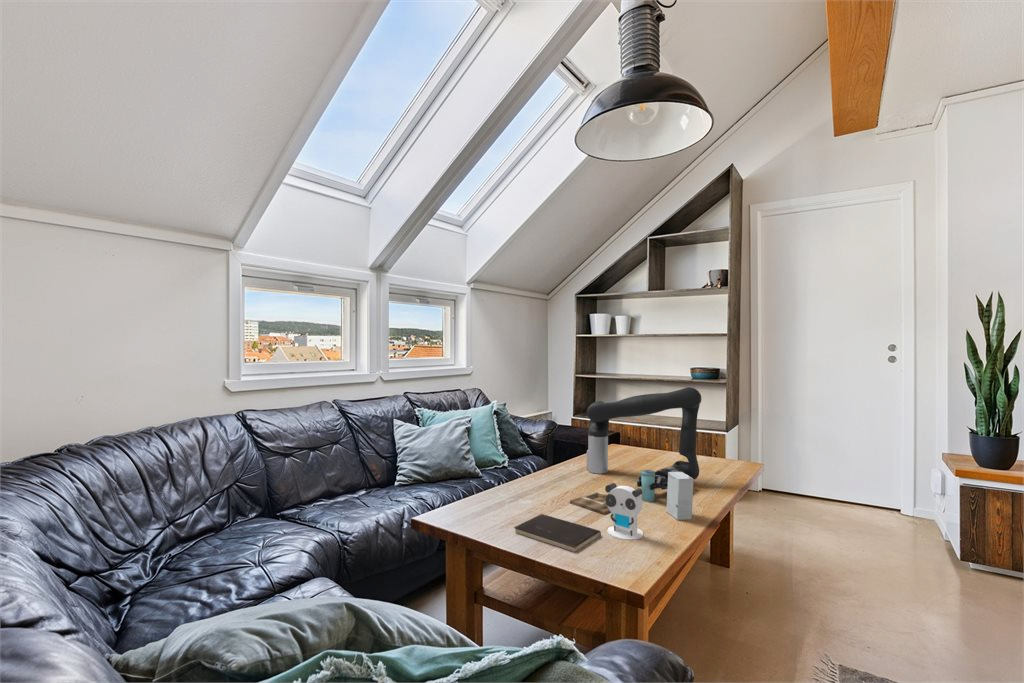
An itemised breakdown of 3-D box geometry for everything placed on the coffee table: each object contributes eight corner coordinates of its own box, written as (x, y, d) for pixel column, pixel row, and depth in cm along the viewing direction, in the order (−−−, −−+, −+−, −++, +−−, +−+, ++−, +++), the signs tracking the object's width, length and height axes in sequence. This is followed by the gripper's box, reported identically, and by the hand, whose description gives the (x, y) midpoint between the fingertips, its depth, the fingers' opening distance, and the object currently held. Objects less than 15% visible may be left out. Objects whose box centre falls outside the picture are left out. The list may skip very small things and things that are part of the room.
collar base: (569, 503, 183) (569, 497, 183) (595, 494, 193) (595, 488, 193) (603, 514, 171) (603, 507, 171) (629, 504, 182) (629, 497, 182)
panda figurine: (599, 532, 155) (599, 486, 155) (616, 522, 163) (616, 479, 163) (632, 543, 147) (633, 494, 147) (649, 532, 155) (649, 486, 155)
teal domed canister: (638, 499, 187) (638, 471, 187) (645, 496, 191) (645, 469, 191) (650, 502, 183) (650, 474, 183) (657, 499, 187) (657, 471, 187)
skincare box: (666, 512, 173) (666, 471, 173) (681, 511, 174) (681, 470, 174) (677, 520, 165) (678, 478, 165) (693, 519, 166) (694, 477, 166)
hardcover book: (574, 554, 140) (574, 546, 140) (514, 534, 155) (514, 527, 155) (600, 537, 153) (600, 530, 153) (542, 519, 167) (542, 513, 167)
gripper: (651, 464, 202) (628, 472, 190) (683, 471, 191) (661, 480, 180) (651, 482, 202) (628, 491, 190) (683, 490, 191) (661, 500, 180)
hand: (644, 485), depth 185 cm, fingers closed on teal domed canister, 5 cm apart
